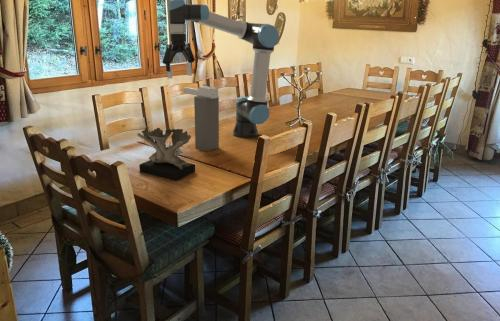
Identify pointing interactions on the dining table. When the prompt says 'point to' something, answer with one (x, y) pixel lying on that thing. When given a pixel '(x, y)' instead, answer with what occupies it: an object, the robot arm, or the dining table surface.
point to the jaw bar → (202, 91)
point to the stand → (206, 123)
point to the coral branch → (175, 150)
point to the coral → (166, 155)
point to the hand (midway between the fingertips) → (179, 76)
